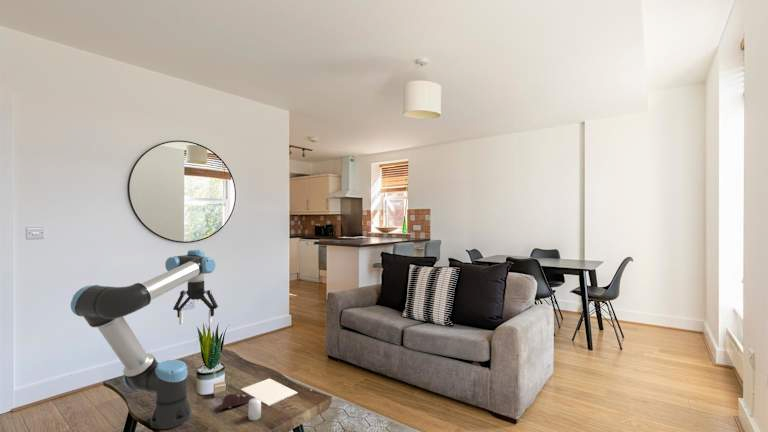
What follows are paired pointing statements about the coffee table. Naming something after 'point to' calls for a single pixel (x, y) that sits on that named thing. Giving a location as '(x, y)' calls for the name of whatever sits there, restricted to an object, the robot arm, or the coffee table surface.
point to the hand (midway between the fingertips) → (195, 323)
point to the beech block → (219, 389)
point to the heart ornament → (234, 400)
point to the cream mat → (269, 391)
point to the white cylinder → (254, 409)
